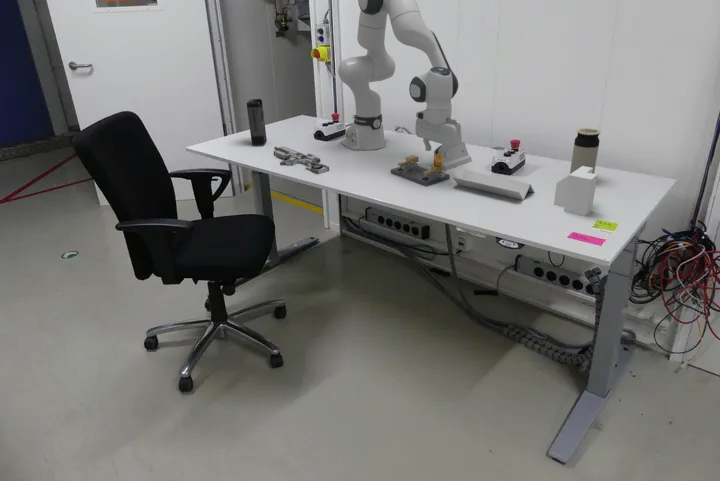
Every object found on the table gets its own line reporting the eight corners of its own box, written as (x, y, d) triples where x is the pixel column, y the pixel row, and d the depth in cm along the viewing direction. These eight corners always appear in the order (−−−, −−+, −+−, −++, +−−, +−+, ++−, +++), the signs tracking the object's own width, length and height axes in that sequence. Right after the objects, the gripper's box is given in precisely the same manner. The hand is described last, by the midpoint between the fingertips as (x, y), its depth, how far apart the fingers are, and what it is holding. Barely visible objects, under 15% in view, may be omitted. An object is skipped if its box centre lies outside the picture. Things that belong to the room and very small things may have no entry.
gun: (255, 151, 230) (283, 142, 239) (256, 156, 232) (284, 148, 240) (308, 172, 202) (339, 162, 210) (309, 179, 203) (339, 168, 211)
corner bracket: (584, 216, 161) (591, 179, 155) (549, 207, 168) (554, 172, 162) (597, 205, 168) (604, 169, 162) (563, 197, 175) (568, 163, 169)
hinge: (445, 170, 203) (439, 145, 201) (436, 172, 207) (430, 147, 205) (472, 161, 212) (467, 136, 210) (463, 162, 216) (458, 138, 214)
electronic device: (264, 146, 244) (258, 102, 235) (251, 146, 244) (245, 103, 235) (267, 140, 252) (262, 98, 243) (255, 141, 252) (249, 99, 243)
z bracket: (464, 192, 194) (470, 177, 195) (527, 208, 179) (534, 192, 180) (452, 177, 184) (459, 161, 185) (518, 192, 169) (526, 175, 170)
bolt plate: (390, 173, 203) (390, 160, 201) (413, 166, 209) (413, 153, 207) (426, 186, 189) (426, 172, 186) (449, 178, 195) (450, 165, 193)
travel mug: (594, 184, 184) (603, 134, 176) (571, 183, 186) (578, 133, 177) (590, 176, 191) (598, 127, 183) (567, 176, 192) (574, 127, 184)
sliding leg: (421, 177, 192) (422, 157, 189) (438, 172, 196) (439, 152, 193) (427, 179, 190) (427, 159, 186) (444, 174, 194) (444, 154, 191)
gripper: (466, 119, 179) (464, 158, 185) (425, 109, 194) (424, 145, 200) (453, 122, 176) (451, 162, 182) (412, 112, 190) (412, 149, 197)
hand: (437, 153), depth 191 cm, fingers open, 8 cm apart
